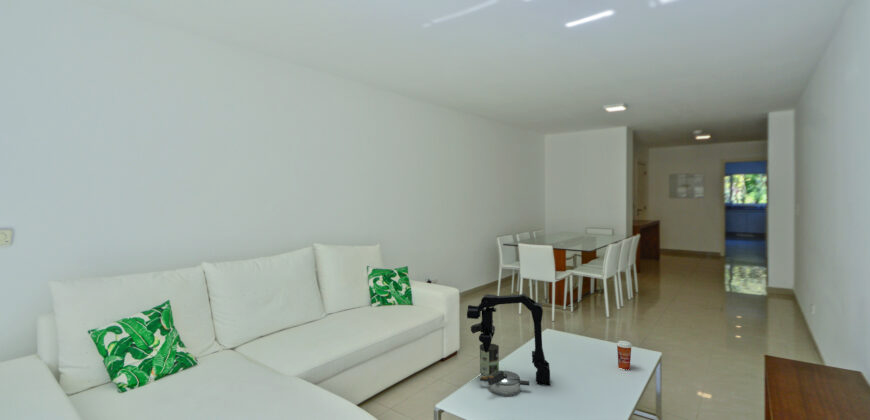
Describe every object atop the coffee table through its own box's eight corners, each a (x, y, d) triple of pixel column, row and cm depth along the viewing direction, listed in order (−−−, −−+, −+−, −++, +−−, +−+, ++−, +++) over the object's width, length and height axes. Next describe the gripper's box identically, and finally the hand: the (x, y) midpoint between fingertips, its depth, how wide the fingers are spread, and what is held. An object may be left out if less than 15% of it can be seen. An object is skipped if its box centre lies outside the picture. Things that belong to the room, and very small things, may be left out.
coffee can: (499, 369, 224) (499, 343, 223) (498, 377, 214) (498, 350, 213) (480, 367, 226) (480, 342, 225) (478, 375, 216) (478, 349, 215)
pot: (529, 385, 204) (529, 375, 204) (529, 399, 190) (529, 388, 190) (482, 380, 210) (482, 370, 210) (478, 393, 195) (478, 383, 195)
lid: (500, 369, 210) (500, 360, 210) (525, 378, 200) (525, 368, 200) (477, 381, 196) (477, 372, 196) (502, 391, 186) (502, 381, 186)
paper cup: (616, 369, 222) (616, 344, 221) (616, 364, 229) (616, 339, 229) (632, 372, 219) (632, 346, 218) (631, 366, 226) (631, 341, 226)
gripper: (474, 313, 224) (474, 342, 224) (468, 323, 206) (468, 354, 206) (495, 314, 221) (495, 343, 222) (491, 325, 203) (491, 356, 204)
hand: (487, 349), depth 213 cm, fingers open, 9 cm apart
